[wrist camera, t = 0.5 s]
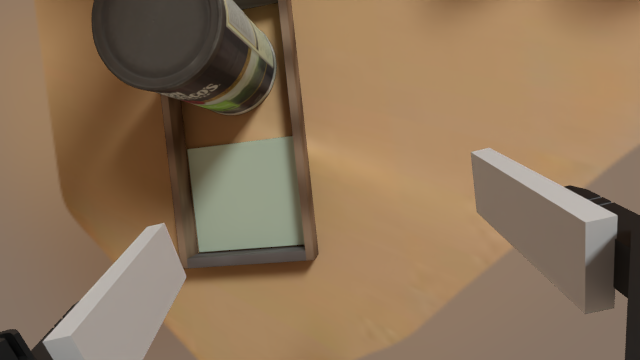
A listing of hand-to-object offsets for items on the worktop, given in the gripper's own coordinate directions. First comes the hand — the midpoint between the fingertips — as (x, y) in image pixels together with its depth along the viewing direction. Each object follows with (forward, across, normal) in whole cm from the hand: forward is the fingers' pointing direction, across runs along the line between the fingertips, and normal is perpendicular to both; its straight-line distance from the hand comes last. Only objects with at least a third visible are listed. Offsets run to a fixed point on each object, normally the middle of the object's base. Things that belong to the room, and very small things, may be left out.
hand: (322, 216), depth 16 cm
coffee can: (+28, -7, +7) cm, 30 cm away
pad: (+24, -9, -6) cm, 26 cm away
